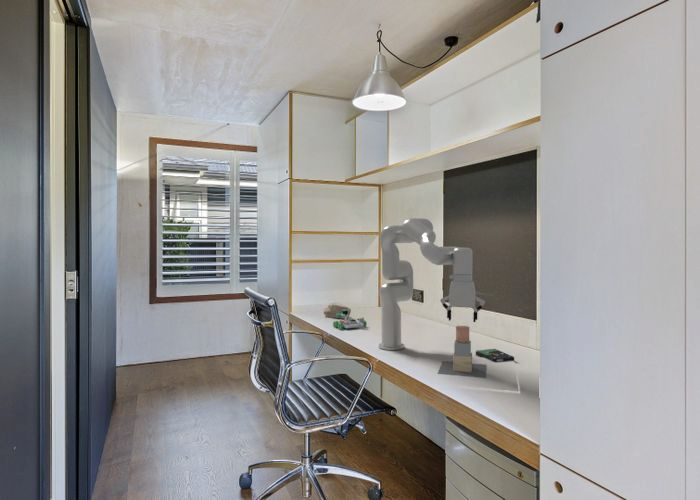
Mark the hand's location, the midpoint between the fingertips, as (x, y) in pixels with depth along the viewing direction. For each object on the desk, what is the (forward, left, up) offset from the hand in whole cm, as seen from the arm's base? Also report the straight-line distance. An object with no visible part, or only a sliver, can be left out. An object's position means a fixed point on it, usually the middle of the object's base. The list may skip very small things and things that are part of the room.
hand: (462, 320), depth 176 cm
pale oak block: (0, 0, -20) cm, 19 cm away
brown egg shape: (0, 0, -9) cm, 9 cm away
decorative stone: (-97, -89, -21) cm, 133 cm away
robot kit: (-72, -74, -21) cm, 106 cm away
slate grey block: (0, 0, -14) cm, 14 cm away
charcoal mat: (0, 0, -20) cm, 20 cm away
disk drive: (-23, +12, -21) cm, 33 cm away
